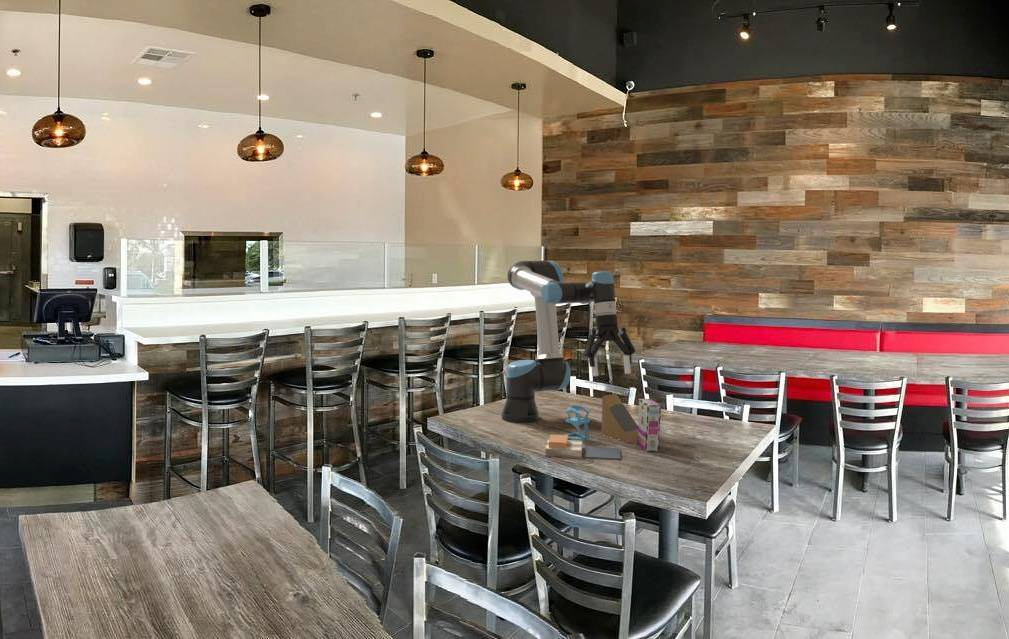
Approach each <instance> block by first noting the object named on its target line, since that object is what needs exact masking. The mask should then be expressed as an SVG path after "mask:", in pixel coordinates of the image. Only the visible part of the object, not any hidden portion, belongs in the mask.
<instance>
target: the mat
mask: <svg viewBox="0 0 1009 639" xmlns="http://www.w3.org/2000/svg"><path fill="white" fill-rule="evenodd" d="M583 457H584V459H593V458H601V459H600V460H612V459H622V458H621V449H620V447H611V446H610V447H606V446H587V445H586V446H585V447H584V455H583Z"/></svg>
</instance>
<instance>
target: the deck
mask: <svg viewBox="0 0 1009 639" xmlns="http://www.w3.org/2000/svg"><path fill="white" fill-rule="evenodd" d="M549 439H550V438H548V439H547V442H546V445H545V449H544V450H545V452H544V453H545V454H544V455H545V457H554V456H561V457H560V458H573V457H574V458H576V459H577V458H578V459H581V458H582V455H583V454H582V452H583V441H581V440H569V439H568V443H567V449H566V448H549Z"/></svg>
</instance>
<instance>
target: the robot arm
mask: <svg viewBox="0 0 1009 639" xmlns="http://www.w3.org/2000/svg"><path fill="white" fill-rule="evenodd" d="M563 275H564V274H563V271H562V268H561V266H560V264H558V263H557V262H556V261H554V260H553V261H552V260H521V261H517V262H515V263H514V264H513V265H511V266H510V267H509V269H508V272H507V277H506V278H507V282H508V283H509V285H510V286H511V287H512V288H514V289H517V290H519V291H523V290H524V291H527V292H530V295H531V296H532V297H533V298H534V305H535V320H536V333H537V341H538V342H537V344H538V356H537V357H536V358H535V360H533V359H519V360H514V361H512V362H510V363H509V364H507V367H506V372H505V373H506V375H505V376H506V382H505V383H506V392H505V393H506V398H505V402H504V406H503V408H502V412H501V419H502V420H504V421H507V422H510V423H531V422H535V421H538V420H539V419H540V412H539V410H538V409H539V408H538V405H537V402H536V392H549V391H558V390H564V389H565V388H566V387H567V386H568V385H569V382H570V379H571V373H572V372H571V367H570V364H569V363H568V361H565V358H564V355H563V354H561V353H560V342H559V330H558V326H559V325H558V318H557V317H558V316H557V315H558V314H557V305H556V304H578V303H579V304H581V305H585V304H586V305H587V304H588V305H589V304H591V303H593V304H594V314H595V316H596V317H595V324H596V328H592V329H589V331H588V332H589V336H588V338H587V342H586V344H585V349H584V351H583V354H582V355H583V357H586V358H587V359H588V362H589V367H590V368H591V376H592V377H599V368H598V357H597V356H596V354H597V353H598V351H599V349H600V348H601V346H602V344H603V343H604V342H613V343H614V344H615V345H616V346H617V347H618V348H619V349H620V351H621V352H622V353H623V354H624V355H623V356H622V360H623V369H624V374H625V375H628V374H632V370H631V364H632V355H633V354H635V353H636V349H635V347H634V345H633V344H632V341H631V340H630V338H629V335H628V334H627V329H626V327H619V328H618V325H619V322H618V315H617V314H616V313H617V302H616V290H615V281H614V276H613V272H612V271H610V270H600V271H594V272H593V273H592V274H591V280H590V281H581V282H580V281H579V282H578V281H577V282H566V281H565V282H564V276H563ZM618 334H619V335H618ZM597 335H598V337H597V339H596V336H597ZM595 340H596V341H595Z"/></svg>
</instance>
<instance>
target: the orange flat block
mask: <svg viewBox="0 0 1009 639" xmlns="http://www.w3.org/2000/svg"><path fill="white" fill-rule="evenodd" d="M548 439H549V448H566V449H567V443H568V440H569V439H568V435H567V434H564V435H563V434H550V436H549V438H548Z"/></svg>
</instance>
